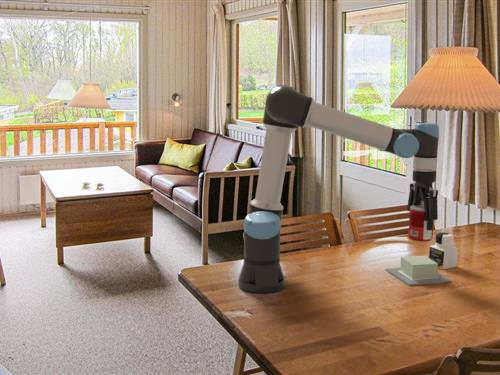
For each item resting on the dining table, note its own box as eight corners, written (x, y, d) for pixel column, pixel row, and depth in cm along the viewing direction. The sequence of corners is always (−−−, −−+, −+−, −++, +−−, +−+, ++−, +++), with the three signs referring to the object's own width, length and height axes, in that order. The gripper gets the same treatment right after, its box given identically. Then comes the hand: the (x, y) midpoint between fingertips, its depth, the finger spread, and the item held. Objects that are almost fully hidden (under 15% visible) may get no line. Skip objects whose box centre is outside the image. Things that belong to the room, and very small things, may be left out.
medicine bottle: (428, 264, 215) (430, 232, 213) (442, 261, 218) (444, 230, 216) (442, 269, 209) (445, 237, 206) (457, 267, 212) (459, 235, 210)
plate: (409, 285, 192) (409, 283, 192) (385, 270, 207) (385, 268, 207) (451, 281, 196) (451, 279, 196) (425, 267, 211) (425, 265, 211)
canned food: (434, 242, 195) (436, 210, 193) (409, 241, 196) (411, 209, 194) (430, 236, 203) (432, 205, 201) (406, 235, 204) (408, 204, 202)
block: (412, 279, 196) (413, 265, 196) (400, 270, 205) (401, 256, 204) (436, 277, 198) (437, 263, 197) (424, 269, 207) (424, 255, 206)
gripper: (452, 174, 186) (447, 243, 190) (418, 164, 206) (414, 227, 210) (432, 175, 184) (427, 244, 188) (398, 165, 204) (395, 228, 208)
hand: (420, 235), depth 199 cm, fingers closed on canned food, 8 cm apart
